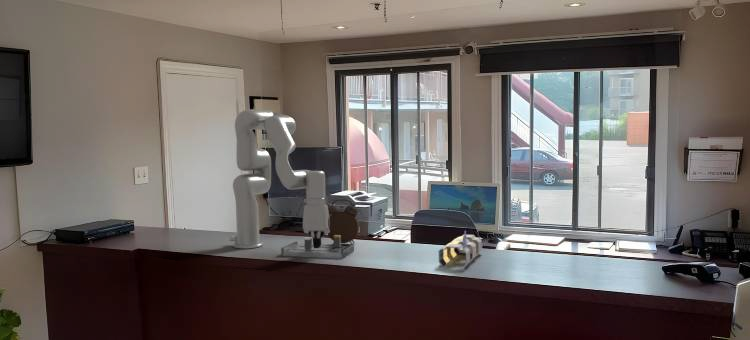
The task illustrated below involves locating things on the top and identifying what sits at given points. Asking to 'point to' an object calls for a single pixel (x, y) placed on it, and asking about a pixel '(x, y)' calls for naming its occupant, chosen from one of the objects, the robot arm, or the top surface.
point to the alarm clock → (343, 222)
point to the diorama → (461, 249)
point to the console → (317, 251)
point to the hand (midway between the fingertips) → (317, 247)
